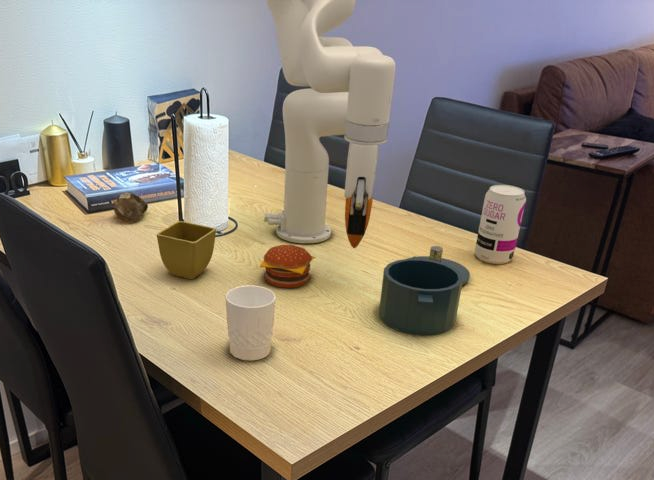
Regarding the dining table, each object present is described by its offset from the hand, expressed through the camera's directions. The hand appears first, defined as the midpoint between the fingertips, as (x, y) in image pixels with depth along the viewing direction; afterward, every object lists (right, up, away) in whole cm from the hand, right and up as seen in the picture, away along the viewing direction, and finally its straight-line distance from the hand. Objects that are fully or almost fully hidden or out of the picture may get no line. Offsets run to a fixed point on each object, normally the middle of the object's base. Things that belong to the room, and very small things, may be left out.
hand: (356, 227), depth 131 cm
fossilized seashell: (-50, +9, +34) cm, 61 cm away
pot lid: (+17, -7, +9) cm, 21 cm away
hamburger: (-13, -9, +7) cm, 17 cm away
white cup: (-20, -24, -17) cm, 36 cm away
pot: (+10, -17, -6) cm, 21 cm away
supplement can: (+32, -3, +19) cm, 37 cm away
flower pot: (-33, -8, +8) cm, 35 cm away
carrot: (0, -4, +2) cm, 4 cm away
